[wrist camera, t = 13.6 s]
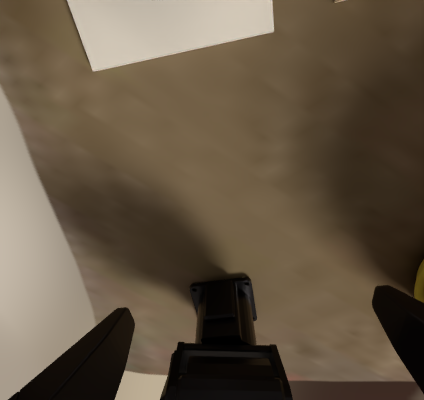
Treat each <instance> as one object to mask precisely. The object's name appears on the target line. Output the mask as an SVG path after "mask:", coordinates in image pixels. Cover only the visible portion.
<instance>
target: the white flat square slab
mask: <svg viewBox="0 0 424 400" xmlns="http://www.w3.org/2000/svg"><path fill="white" fill-rule="evenodd" d="M67 1H68V4H69V7H70V10H71V12H72V15H73V18H74V21H75V23H76V26H77V29H78V32H79V34H80V37H81V40H82V42H83V45H84V48H85V51H86V53H87V56H88V59H89V62H90V64H91V67H92V70H93V71H100V70H104V69H109V68H113V67H118V66H122V65H127V64H131V63H136V62H140V61H145V60H150V59H154V58H159V57H163V56H168V55H172V54H177V53H181V52H186V51H190V50H195V49H199V48H204V47H208V46H213V45H218V44H222V43H227V42H231V41H236V40H240V39H245V38H249V37H254V36H258V35H263V34H267V33H272V32H274V22H273V5H272V0H67Z"/></svg>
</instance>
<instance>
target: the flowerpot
mask: <svg viewBox="0 0 424 400" xmlns="http://www.w3.org/2000/svg"><path fill="white" fill-rule="evenodd" d="M414 295H415V299H417V300H419V301H421V302H423V303H424V259H423V261H422V263H421V265H420V267H419V269H418V272H417V277H416V283H415V288H414Z"/></svg>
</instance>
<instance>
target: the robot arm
mask: <svg viewBox="0 0 424 400" xmlns="http://www.w3.org/2000/svg"><path fill="white" fill-rule="evenodd" d="M245 282H247V283H245ZM194 288H196V289H194ZM190 293H191V296H192V299H193V302H194V305H195V308H196V311H197V314H198V316H197V328H196V340H195V343H184V342H178V346H177V350H175V351H174V353H173V354H172V356H171V362H170V368H169V373H168V377H167V380H166V383H165V386H164V389H163V392H162V395H161V398H160V400H293V399H292V394H291V389H290V386H289V383H288V380H287V377H286V373H285V370H284V367H283V364H282V361H281V358H280V355H279V352H278V349H277V346H276V345H273V344H270V345H269V346H268V345H256V338H255V330H254V323H253V321H256V320H257V315H256V309H255V302H254V296H253V290H252V283H251V279H250V278H237V279H229V280H221V281H212V282H204V283H195V284H192V285H191V286H190ZM372 306H373V309H374V311H375V313H376V315H377V317H378V319H379V321H380V323H381V325H382V327H383V329H384V330H385V332H386V334H387V336H388V338H389V340H390V342H391V344H392V346H393V347H394V349H395V351H396V352H397V354H398V356H399V357H400V359H401V360H402V362H403V363H404V365H405V366H406V368H407V369H408V371H409V372H410V374H411V375H412V377H413V378H414V380H415V382H416V383H417V385H418V386H419V387H420V389H421V391H422V392H423V394H424V303H423V302H421V301H419V300H417V299H415V298H413V297H411V296H409V295H407V294H405V293H403V292H401V291H399V290H397V289H395V288H393V287H391V286H389V285H383V286H376V287H375V290H374V295H373V299H372ZM134 328H135V323H134V319H133V317H132V315H131V313H130V311H129V309H128V308H126V307H124V308H117V309H116V310H114V311H113V312H112V313H111V314H110V315H108V316H107V317H106V318H105V319H104V320H103V321H101V322H100V323H99V324H98V325H97V326H95V327H94V328H93V329H92V330H91V331H90V332H88V333H87V334H86V335H85V336H84V337H82V338H81V339H80V340H79V341H78V342H77V343H75V344H74V345H73V346H72V347H71V348H69V349H68V350H67V351H66V352H65V353H63V354H62V355H61V356H60V357H59V358H57V359H56V360H55V361H54V362H53V363H52V364H50V365H49V366H48V367H47V368H46V369H44V370H43V371H42V372H41V373H40V374H39V375H37V376H36V377H35V378H34V379H33V380H31V381H30V382H29V383H28V384H27V385H25V386H24V387H23V388H22V389H21V390H20V392H17V393H16V394H14V395H13V396H12V397H11V398H9V399H8V400H114V399H115V397H116V394H117V391H118V388H119V385H120V382H121V379H122V376H123V373H124V370H125V366H126V363H127V359H128V354H129V350H130V345H131V341H132V337H133V332H134Z"/></svg>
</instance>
